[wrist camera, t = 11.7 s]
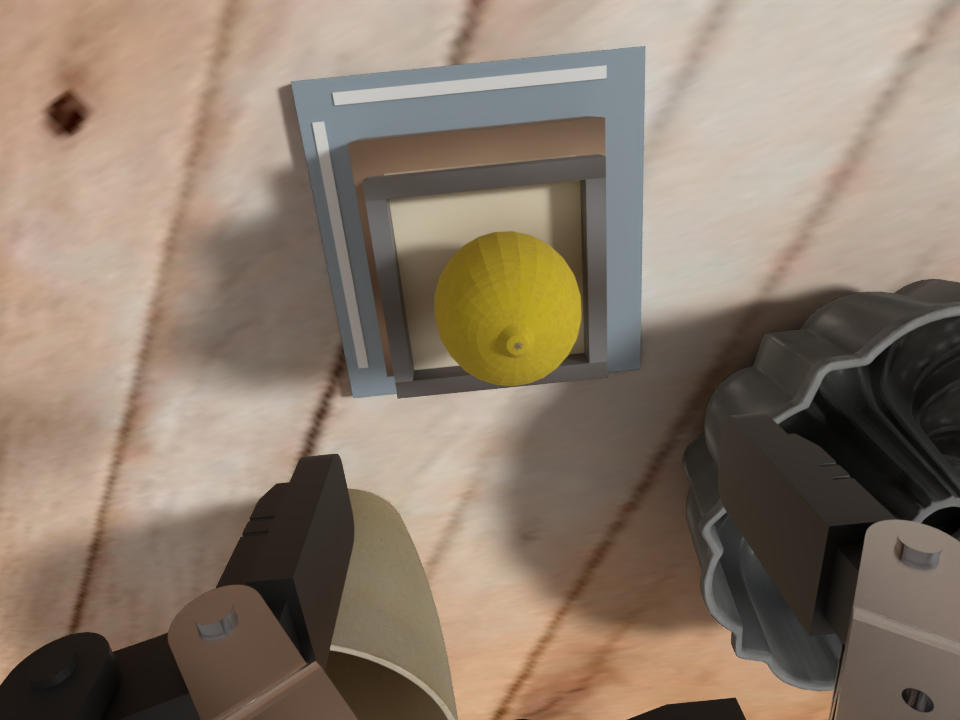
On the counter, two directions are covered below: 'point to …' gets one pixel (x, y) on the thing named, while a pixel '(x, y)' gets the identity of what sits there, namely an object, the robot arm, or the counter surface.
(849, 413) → the bundt pan
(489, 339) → the lemon
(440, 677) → the plant pot
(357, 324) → the board
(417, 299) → the block tower
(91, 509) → the counter surface
